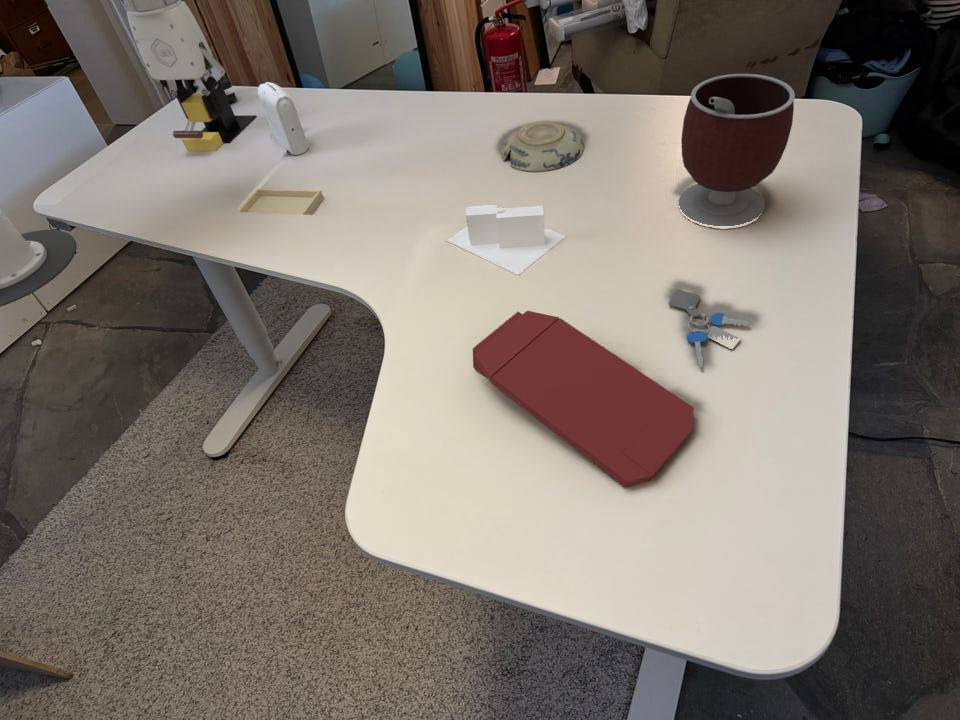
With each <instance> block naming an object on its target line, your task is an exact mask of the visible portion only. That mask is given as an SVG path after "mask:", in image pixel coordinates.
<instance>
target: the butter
mask: <svg viewBox="0 0 960 720" xmlns="http://www.w3.org/2000/svg"><path fill="white" fill-rule="evenodd" d="M202 133H203V137H202V138H181V142H182V143H183V146H184V147H185V149H186V151H187V152H217V150H219V149H220V147H222V146H223V145H224V143H223V142H222V139H221V137H220V135H219V133H218V132H202Z"/></svg>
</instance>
